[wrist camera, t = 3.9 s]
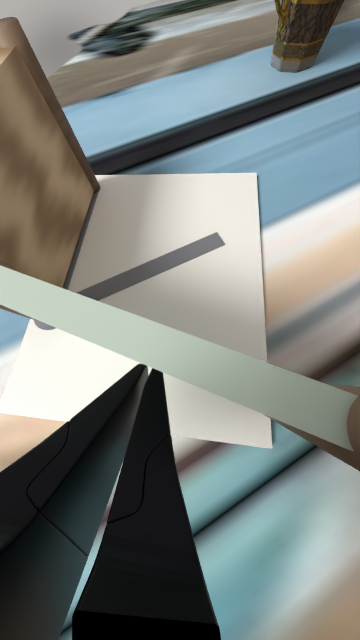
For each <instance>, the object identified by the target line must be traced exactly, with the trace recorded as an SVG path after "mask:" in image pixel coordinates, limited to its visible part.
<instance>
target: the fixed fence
mask: <svg viewBox="0 0 360 640" xmlns="http://www.w3.org/2000/svg"><path fill="white" fill-rule="evenodd" d="M100 188H101V187H100V185H99V183H98V181H97V179H96V177H95V175H94V173H93V171H92V169H91V167H90V165H89V163H88V161H87V159H86V157H85V155H84V153H83V150H82V148H81V146H80V144H79V142H78V140H77V138H76V136H75V134H74V132H73V130H72V128H71V126H70V124H69V122H68V120H67V118H66V116H65V114H64V112H63V110H62V108H61V106H60V104H59V102H58V100H57V98H56V96H55V94H54V92H53V90H52V88H51V86H50V84H49V82H48V80H47V78H46V76H45V74H44V72H43V70H42V68H41V66H40V64H39V62H38V60H37V58H36V56H35V54H34V52H33V49H32V48H31V46H30V43H29V41H28V39H27V37H26V35H25V33H24V31H23V29H22V28H21V25H20V23H19V21H18V19H17V18H15V17H9V18H3V19H0V266H3V267H6V268H8V269H11V270H14V271H17V272H19V273H22V274H25V275H28V276H30V277H33V278H36V279H39V280H41V281H44V282H47V283H50V284H52V285H55V286H58V287H61V288H62V287H63V284H64V281H65V278H66V275H67V272H68V269H69V266H70V263H71V259H72V256H73V253H74V250H75V247H76V244H77V241H78V238H79V235H80V232H81V229H82V226H83V223H84V220H85V217H86V214H87V211H88V207H89V204H90V201H91V198H92V195H93V194H94V193H96V192H98V191H100ZM0 308H1V309H4V310H7V311H10V312H13V313H16V314H19V315H22V316H25V317H28V318H31V317H29V316H26V315H24V314H22V313H19V312H17V311H14V310H12V309H10V308H7V307H5V306H2V305H0ZM31 319H34V318H31ZM34 320H36V319H34ZM37 321H38V320H37ZM40 322H41V321H40Z"/></svg>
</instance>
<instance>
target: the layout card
mask: <svg viewBox="0 0 360 640" xmlns="http://www.w3.org/2000/svg"><path fill="white" fill-rule="evenodd" d="M95 177H96V179H97V181H98V183H99V185H100V187H101V188H100V191H98V192H96V193H94V194H93V195H92V198H91V201H90V204H89V207H88V211H87V214H86V217H85V220H84V223H83V226H82V229H81V232H80V235H79V238H78V241H77V244H76V247H75V250H74V253H73V256H72V259H71V263H70V266H69V269H68V272H67V275H66V278H65V281H64V284H63V287H62V288H63V289H66V290H69V291H72V292H74V293H77V294H80V295H83V296H85V297H88V298H91V299H94V300H96V301H99V302H102V303H105V304H107V305H110V306H113V307H116V308H118V309H121V310H124V311H127V312H129V313H132V314H135V315H138V316H140V317H143V318H146V319H149V320H151V321H154V322H157V323H160V324H162V325H165V326H168V327H171V328H173V329H176V330H179V331H182V332H184V333H187V334H190V335H193V336H195V337H198V338H201V339H204V340H206V341H209V342H212V343H215V344H217V345H220V346H223V347H226V348H228V349H231V350H234V351H237V352H239V353H242V354H245V355H248V356H250V357H253V358H256V359H259V360H261V361H264V362H267V348H266V330H265V313H264V295H263V278H262V260H261V243H260V225H259V208H258V191H257V173H216V174H149V175H95ZM137 364H142V363H139V362H137V361H135V360H132V359H130V358H127V357H125V356H123V355H120V354H118V353H115V352H113V351H111V350H108V349H106V348H103V347H101V346H99V345H96V344H94V343H91V342H89V341H87V340H84V339H82V338H79V337H77V336H75V335H72V334H70V333H67V332H65V331H63V330H60V329H58V328H55V327H53V326H50V325H48V324H46V323H43V322H40V321H37V320H34V319H30V322H29V324H28V327H27V330H26V333H25V335H24V338H23V341H22V344H21V346H20V349H19V352H18V355H17V357H16V360H15V363H14V365H13V368H12V371H11V374H10V376H9V379H8V382H7V385H6V387H5V390H4V393H3V396H2V398H1V401H0V413H6V414H13V415H21V416H28V417H36V418H43V419H51V420H59V421H66V422H67V421H70V419H71V418H72V417H74V416H75V415H76V414H77V413H79V412H80V411H81V410H82V409H83V408H85V407H86V406H87V405H88V404H90V403H91V402H92V401H93V400H94V399H96V398H97V397H98V396H99V395H101V394H102V393H103V392H104V391H105V390H107V389H108V388H109V387H110V386H112V385H113V384H114V383H115V382H116V381H118V380H119V379H120V378H121V377H123V376H124V375H125V374H126V373H127V372H129V371H130V370H131V369H132V368H134V367H135V366H136V365H137ZM151 369H152V368H151V367H149V366H148V375H149V374H150V372H151ZM163 376H164V384H165V392H166V400H167V407H168V415H169V423H170V431H171V435H172V436H180V437H187V438H195V439H202V440H210V441H217V442H225V443H232V444H240V445H248V446H255V447H263V448H270V449H272V435H271V419H270V418H269V417H267V416H265V415H263V414H262V413H259V412H257V411H255V410H252V409H250V408H247V407H245V406H243V405H240V404H238V403H235V402H233V401H231V400H228V399H226V398H223V397H221V396H219V395H216V394H214V393H211V392H209V391H207V390H204V389H202V388H199V387H197V386H195V385H192V384H190V383H187V382H185V381H183V380H180V379H178V378H175V377H173V376H171V375H168V374H166V373H163Z"/></svg>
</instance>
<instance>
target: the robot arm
mask: <svg viewBox="0 0 360 640" xmlns="http://www.w3.org/2000/svg"><path fill="white" fill-rule="evenodd" d="M123 460H124V461H123ZM122 462H123V465H122ZM121 465H122V468H121ZM120 468H121V472H120V476H119V479H118V483H117V487H116V491H115V494H114V498H113V502H112V505H111V509H110V513H109V516H108V520H107V525H106V528H105V531H104V535H103V538H102V541H101V545H100V548H99V551H98V554H97V557H96V560H95V562H94V565H93V568H92V570H91V573H90V575H89V577H88V580H87V582H86V585H85V587H84V589H83V592H82V594H81V596H80V599H79V601H78V604H77V606H76V608H75V611H74V613H73V616H72V640H221V637H220V629H219V626H218V623H217V619H216V616H215V613H214V610H213V606H212V603H211V600H210V597H209V593H208V590H207V586H206V583H205V580H204V576H203V572H202V569H201V565H200V561H199V558H198V554H197V550H196V546H195V542H194V538H193V534H192V530H191V526H190V522H189V518H188V514H187V510H186V506H185V502H184V498H183V494H182V490H181V486H180V482H179V478H178V473H177V469H176V464H175V458H174V452H173V445H172V438H171V431H170V423H169V415H168V407H167V400H166V392H165V384H164V376H163V372H161V371H159V370H156V369H154V368H152V369H151V372H150V374H149V375H148V366H147V365H144V364H137V365H136V366H135V367H134V368H132V369H131V370H130V371H129V372H127V373H126V374H125V375H124V376H123V377H121V378H120V379H119V380H118V381H116V382H115V383H114V384H113V385H112V386H110V387H109V388H108V389H107V390H105V391H104V392H103V393H102V394H101V395H99V396H98V397H97V398H96V399H94V400H93V401H92V402H91V403H90V404H88V405H87V406H86V407H85V408H83V409H82V410H81V411H80V412H79V413H77V414H76V415H75V416H74V417H72V418H71V419H70V421H67V422H66V423H65V424H64V425H63V426H61V427H60V428H59V429H58V430H56V431H55V432H54V433H53V434H51V435H50V436H49V437H47V438H46V439H45V440H44V441H42V442H41V443H40V444H38V445H37V446H36V447H34V448H33V449H32V450H30V451H29V452H28V453H26V454H25V455H24V456H22V457H21V458H19V459H18V460H17V461H15V462H14V463H12V464H11V465H10V466H8V467H7V468H5V469H4V470H3V471H1V472H0V640H58V639H59V636H60V633H61V631H62V628H63V625H64V622H65V619H66V617H67V614H68V611H69V608H70V606H71V603H72V600H73V597H74V595H75V592H76V589H77V586H78V584H79V581H80V578H81V575H82V573H83V570H84V567H85V564H86V562H87V559H88V557H87V556H89V553H90V550H91V548H92V545H93V542H94V539H95V537H96V534H97V531H98V528H99V526H100V523H101V520H102V517H103V515H104V512H105V509H106V506H107V504H108V501H109V498H110V495H111V493H112V490H113V487H114V484H115V482H116V479H117V476H118V473H119V471H120Z"/></svg>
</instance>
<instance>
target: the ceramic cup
mask: <svg viewBox="0 0 360 640" xmlns="http://www.w3.org/2000/svg"><path fill="white" fill-rule="evenodd" d="M343 2H344V0H281V1H279V0H275V4H276V10H277V13H278V21H277V27H276V34H275V40H274V46H273V52H272V58H271V65H272V66H273V67H274V68H276V69H277V70H278V71H284V72H299V71H301V70H304V69H307V68H310V67H311V65H312V64H313V63H314V61H315V59H316V57H317V55H318V53H319V51H320V48H321V46H322V44H323V42H324V40H325V38H326V36H327V34H328V32H329V30H330V28H331V26H332V24H333V22H334V20H335V18H336V16H337V14H338V12H339V10H340V8H341V6H342V4H343Z"/></svg>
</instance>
